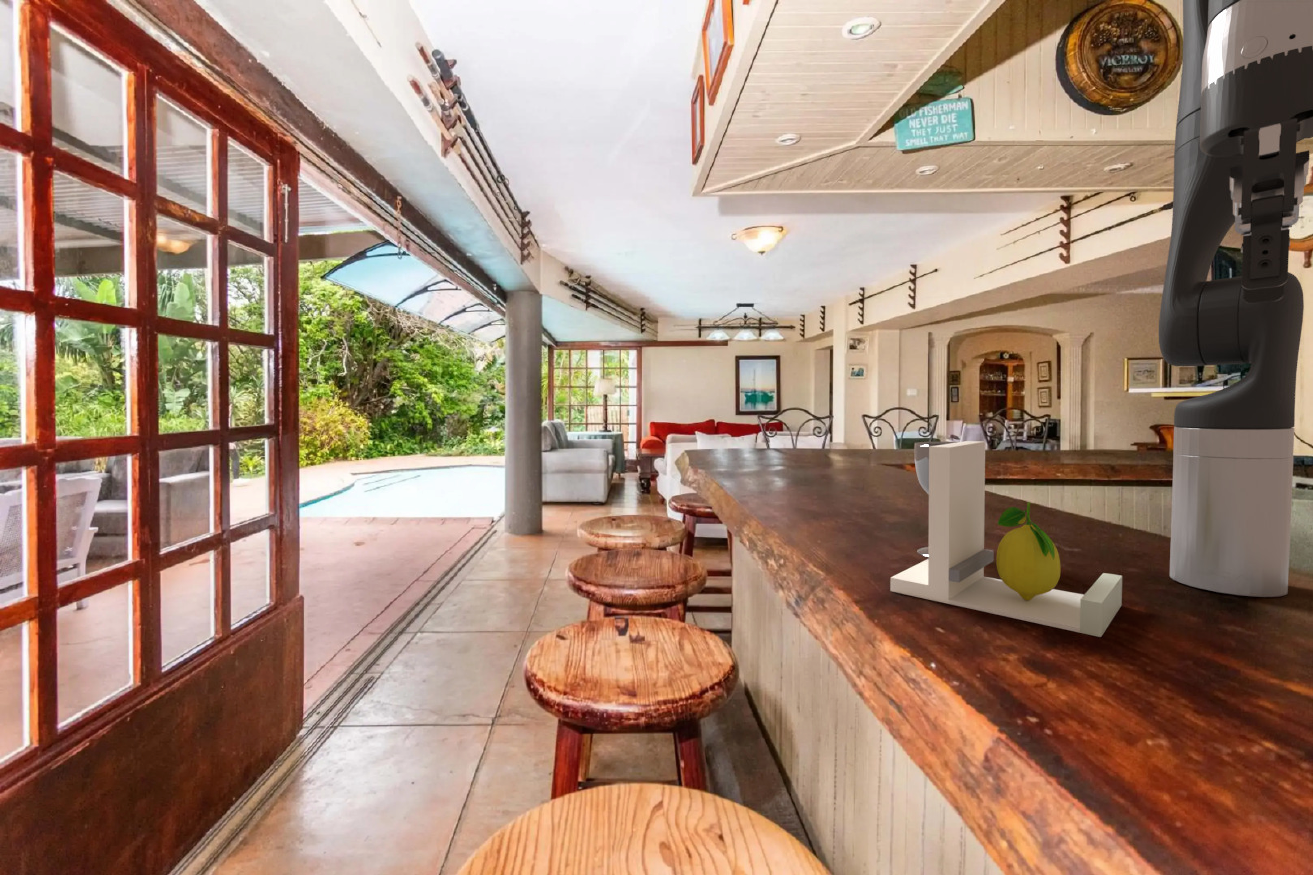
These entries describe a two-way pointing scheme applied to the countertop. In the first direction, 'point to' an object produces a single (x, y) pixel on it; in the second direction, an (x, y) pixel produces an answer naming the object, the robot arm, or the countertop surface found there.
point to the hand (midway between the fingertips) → (1263, 295)
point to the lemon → (1026, 556)
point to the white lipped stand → (988, 555)
